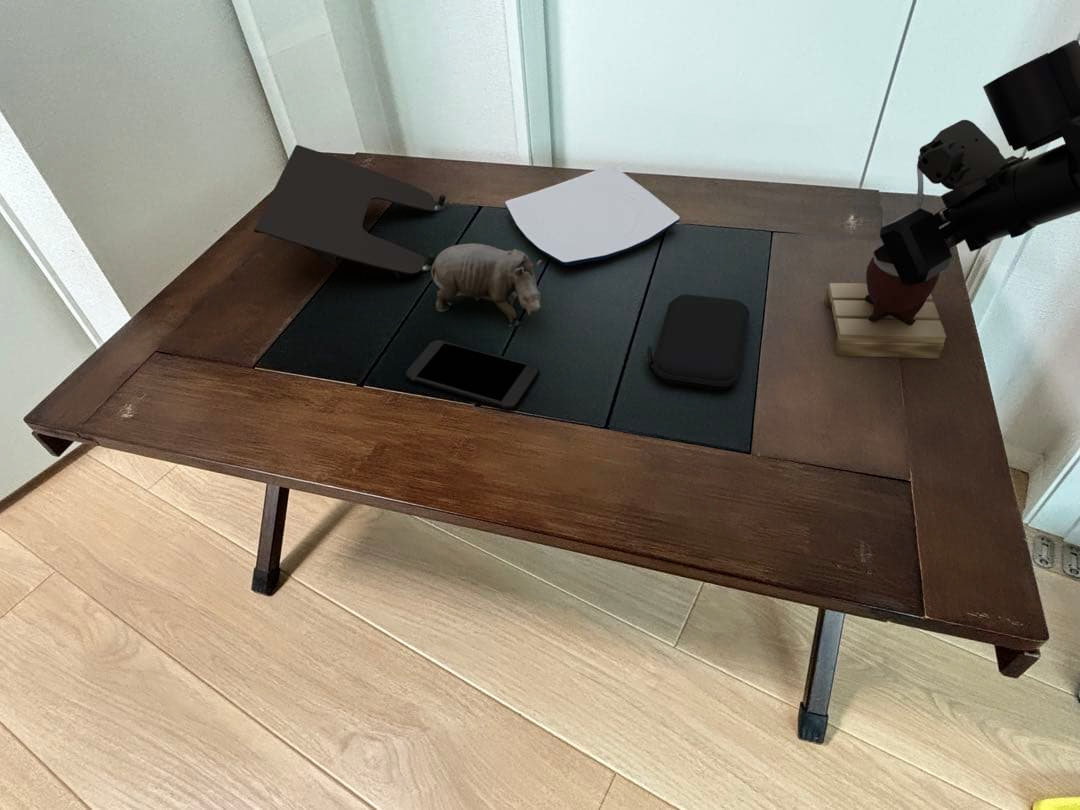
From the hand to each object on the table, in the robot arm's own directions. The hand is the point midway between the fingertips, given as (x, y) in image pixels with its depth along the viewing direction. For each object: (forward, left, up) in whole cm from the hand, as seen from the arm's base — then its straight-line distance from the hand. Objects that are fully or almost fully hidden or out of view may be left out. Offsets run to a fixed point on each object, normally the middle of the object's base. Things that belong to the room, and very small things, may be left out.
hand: (894, 245), depth 77 cm
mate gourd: (-1, +1, -8) cm, 8 cm away
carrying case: (+20, +5, -11) cm, 24 cm away
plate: (+35, -21, -11) cm, 42 cm away
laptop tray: (+67, -16, -11) cm, 70 cm away
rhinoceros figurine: (+45, -1, -11) cm, 46 cm away
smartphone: (+46, +11, -11) cm, 49 cm away
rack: (-1, +1, -11) cm, 11 cm away
